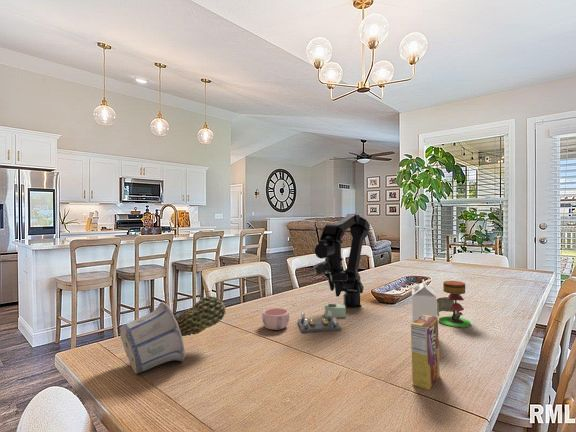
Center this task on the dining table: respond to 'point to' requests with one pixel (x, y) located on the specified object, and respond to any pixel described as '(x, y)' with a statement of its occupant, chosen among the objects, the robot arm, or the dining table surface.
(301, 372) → the dining table surface
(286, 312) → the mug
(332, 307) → the pale green block
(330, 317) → the chassis
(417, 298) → the milk carton
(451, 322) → the brown and green pedestal
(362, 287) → the robot arm
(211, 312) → the potted plant
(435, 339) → the candy box
